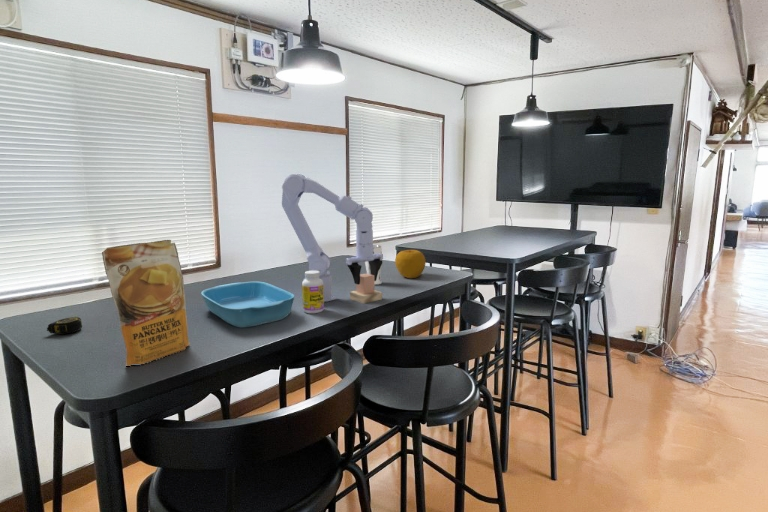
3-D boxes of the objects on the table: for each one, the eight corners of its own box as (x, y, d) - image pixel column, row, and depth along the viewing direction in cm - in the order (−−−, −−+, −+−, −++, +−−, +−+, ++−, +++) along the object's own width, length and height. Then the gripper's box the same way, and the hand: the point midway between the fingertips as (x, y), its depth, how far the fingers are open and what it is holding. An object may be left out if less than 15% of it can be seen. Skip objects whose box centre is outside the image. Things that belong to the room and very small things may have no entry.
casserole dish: (194, 308, 153) (192, 287, 151) (258, 296, 166) (256, 277, 165) (234, 337, 124) (232, 312, 123) (307, 320, 137) (306, 297, 136)
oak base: (363, 304, 154) (363, 296, 153) (350, 300, 160) (349, 291, 160) (382, 300, 159) (381, 292, 158) (368, 296, 165) (368, 288, 165)
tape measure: (68, 327, 134) (66, 315, 134) (88, 328, 133) (86, 316, 132) (47, 335, 128) (45, 323, 127) (68, 337, 126) (66, 324, 126)
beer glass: (383, 281, 185) (382, 244, 182) (381, 285, 178) (380, 247, 175) (366, 281, 185) (365, 245, 183) (363, 285, 179) (362, 247, 176)
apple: (390, 278, 189) (390, 251, 187) (401, 272, 201) (401, 246, 199) (420, 281, 184) (420, 253, 182) (429, 274, 196) (429, 248, 194)
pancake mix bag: (109, 366, 106) (93, 247, 101) (184, 340, 122) (173, 237, 117) (124, 372, 102) (109, 250, 97) (199, 345, 118) (189, 238, 113)
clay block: (364, 294, 156) (363, 277, 155) (356, 291, 159) (356, 275, 158) (374, 292, 159) (374, 275, 158) (366, 289, 162) (366, 273, 161)
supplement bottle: (308, 315, 142) (306, 275, 140) (300, 310, 147) (298, 271, 145) (327, 311, 145) (326, 272, 143) (318, 306, 151) (317, 268, 149)
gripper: (354, 247, 148) (355, 287, 151) (388, 242, 157) (388, 280, 160) (342, 244, 154) (343, 284, 156) (375, 240, 163) (376, 277, 165)
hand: (365, 282), depth 158 cm, fingers open, 7 cm apart
